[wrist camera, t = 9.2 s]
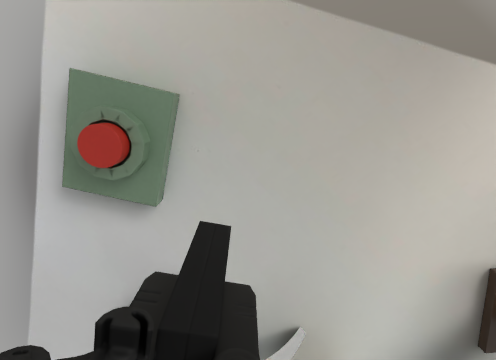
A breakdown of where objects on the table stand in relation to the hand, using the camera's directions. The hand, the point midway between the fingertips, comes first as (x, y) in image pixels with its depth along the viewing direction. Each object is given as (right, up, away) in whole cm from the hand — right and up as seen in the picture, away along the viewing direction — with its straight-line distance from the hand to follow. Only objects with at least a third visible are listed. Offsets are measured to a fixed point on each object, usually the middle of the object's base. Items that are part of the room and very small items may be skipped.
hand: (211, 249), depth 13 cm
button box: (-12, +8, +17) cm, 22 cm away
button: (-12, +7, +13) cm, 19 cm away
